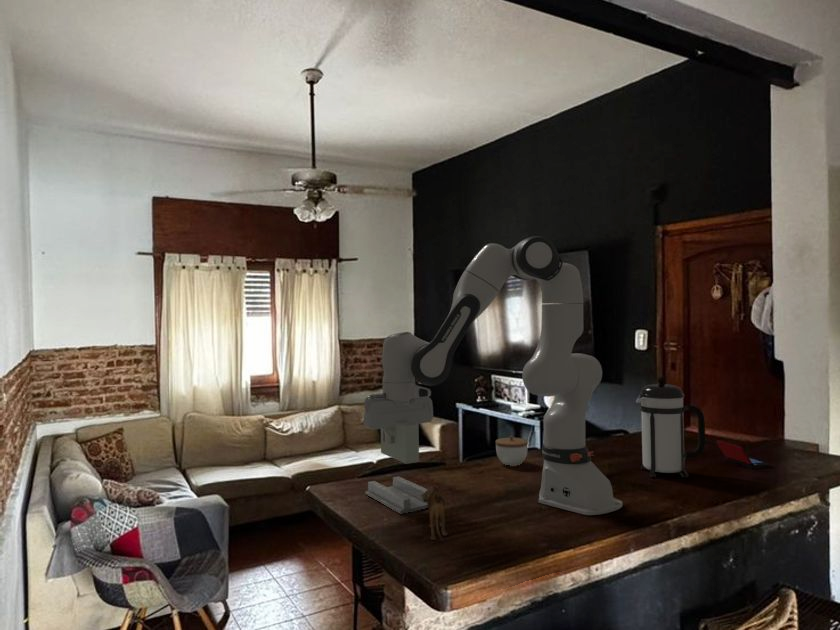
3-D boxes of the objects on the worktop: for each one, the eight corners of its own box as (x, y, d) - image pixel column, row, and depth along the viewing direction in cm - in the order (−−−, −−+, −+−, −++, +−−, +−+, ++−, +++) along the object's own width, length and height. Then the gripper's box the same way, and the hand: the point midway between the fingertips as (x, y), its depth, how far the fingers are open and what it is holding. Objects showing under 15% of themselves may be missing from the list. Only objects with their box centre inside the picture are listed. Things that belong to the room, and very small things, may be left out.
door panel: (419, 461, 155) (418, 424, 155) (405, 463, 153) (405, 425, 152) (393, 450, 167) (393, 415, 166) (380, 452, 164) (380, 417, 164)
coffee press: (676, 483, 169) (673, 380, 169) (628, 472, 182) (625, 376, 182) (707, 473, 179) (704, 376, 180) (659, 463, 192) (657, 372, 192)
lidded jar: (509, 469, 188) (509, 440, 189) (489, 462, 198) (488, 435, 198) (534, 464, 194) (534, 436, 194) (514, 458, 203) (513, 431, 203)
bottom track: (439, 505, 154) (439, 492, 154) (400, 514, 148) (400, 500, 148) (401, 487, 171) (401, 475, 171) (365, 495, 165) (364, 482, 165)
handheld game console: (772, 468, 184) (772, 444, 184) (742, 470, 183) (741, 446, 183) (744, 458, 197) (743, 436, 197) (715, 460, 195) (715, 438, 195)
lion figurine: (420, 521, 143) (419, 484, 143) (441, 519, 144) (441, 483, 144) (432, 544, 128) (431, 503, 128) (455, 542, 129) (454, 501, 129)
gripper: (370, 396, 151) (370, 449, 151) (435, 389, 162) (436, 439, 162) (359, 393, 156) (360, 444, 157) (423, 387, 167) (424, 435, 167)
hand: (399, 441), depth 159 cm, fingers closed on door panel, 4 cm apart
